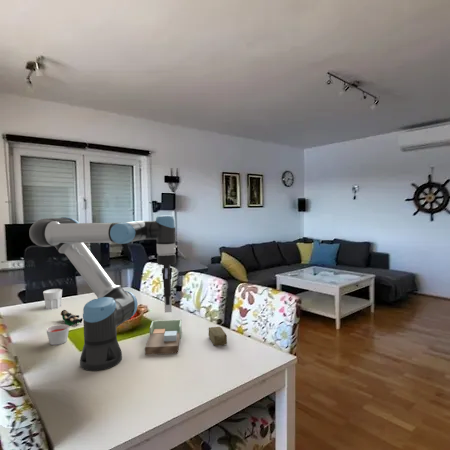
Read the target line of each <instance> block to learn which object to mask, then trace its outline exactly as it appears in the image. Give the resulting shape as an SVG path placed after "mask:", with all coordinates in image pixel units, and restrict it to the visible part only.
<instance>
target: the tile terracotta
mask: <svg viewBox="0 0 450 450" xmlns="http://www.w3.org/2000/svg"><path fill="white" fill-rule="evenodd" d="M160 333H165V329H154V331H153V334H160Z"/></svg>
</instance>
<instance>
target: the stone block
mask: <svg viewBox="0 0 450 450" xmlns="http://www.w3.org/2000/svg"><path fill="white" fill-rule="evenodd" d="M227 336H228V335H227V333H226V332H225V331H224V330H223V327H221V326H212V327H209V328H208V337H209V339H210V341H211V342H212V344H213V346H216V347H220V346H221V347H222V346H223V347H224V346H226V345H228V341H227V340H228V339H227V338H228V337H227Z"/></svg>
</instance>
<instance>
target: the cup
mask: <svg viewBox="0 0 450 450" xmlns="http://www.w3.org/2000/svg"><path fill="white" fill-rule="evenodd" d="M42 294H43V298H44V299H43V300H44V304H45V305H44V307H45V309H46V310H55V309H58V308H60V307H61V308H62V298H63V297H62V296H63V288H62V289H61V288H51V289H46V290H44V291H43V292H42Z"/></svg>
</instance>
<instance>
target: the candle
mask: <svg viewBox="0 0 450 450" xmlns="http://www.w3.org/2000/svg"><path fill="white" fill-rule="evenodd" d="M69 330H70V326H69V325H67V324H56V325H52V326H49V327H47V328H46V329H45V331H46V334H47V339H48V342H49V343H48V344H50V345H51V346H58V345H62V344H64V343H67V341H68V337H69Z"/></svg>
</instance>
